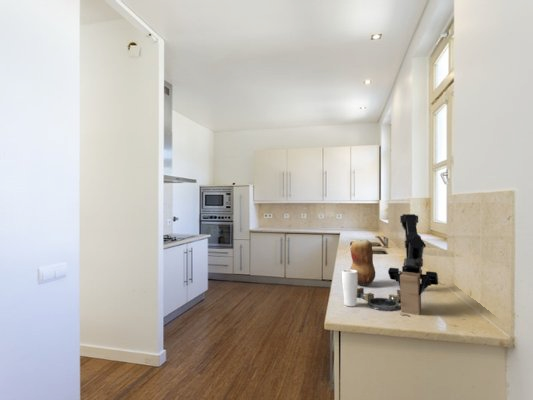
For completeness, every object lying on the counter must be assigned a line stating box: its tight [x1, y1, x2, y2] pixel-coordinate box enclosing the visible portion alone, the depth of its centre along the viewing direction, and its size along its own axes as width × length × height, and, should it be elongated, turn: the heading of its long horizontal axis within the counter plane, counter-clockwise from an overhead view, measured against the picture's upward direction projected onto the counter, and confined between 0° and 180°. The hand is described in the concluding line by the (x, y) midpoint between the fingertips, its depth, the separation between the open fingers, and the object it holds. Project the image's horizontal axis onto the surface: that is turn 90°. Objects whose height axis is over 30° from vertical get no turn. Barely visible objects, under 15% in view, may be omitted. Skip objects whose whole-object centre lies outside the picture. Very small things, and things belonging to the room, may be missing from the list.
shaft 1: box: [357, 287, 375, 303], centre depth 141 cm, size 8×4×4 cm, turn 24°
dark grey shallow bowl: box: [366, 297, 401, 312], centre depth 131 cm, size 13×13×2 cm
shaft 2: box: [388, 289, 401, 304], centre depth 137 cm, size 8×4×4 cm, turn 124°
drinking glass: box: [341, 269, 359, 307], centre depth 133 cm, size 7×7×15 cm
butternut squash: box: [350, 239, 376, 286], centre depth 166 cm, size 14×13×25 cm
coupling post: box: [399, 272, 422, 316], centre depth 124 cm, size 6×6×15 cm
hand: (410, 293), depth 123 cm, fingers closed on coupling post, 6 cm apart
